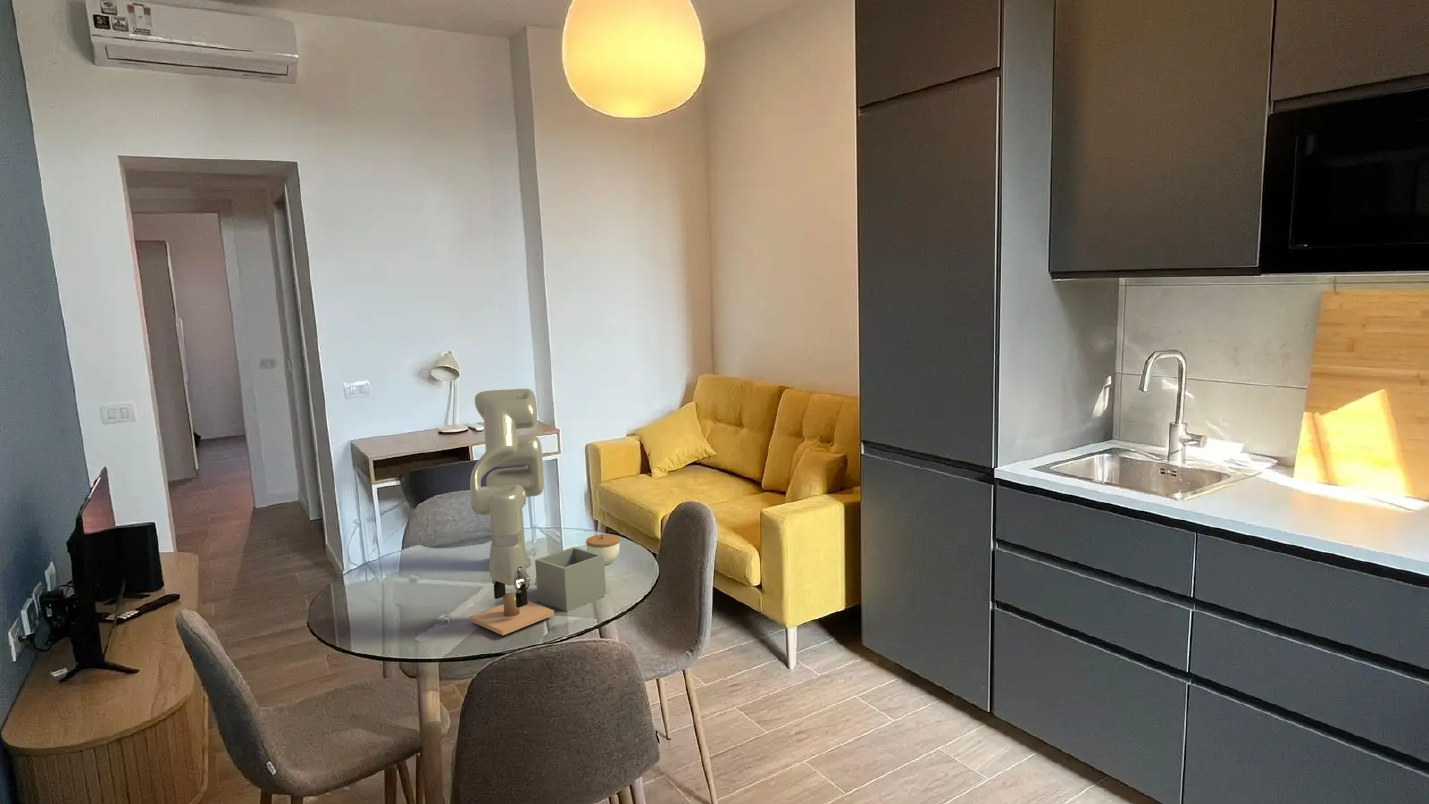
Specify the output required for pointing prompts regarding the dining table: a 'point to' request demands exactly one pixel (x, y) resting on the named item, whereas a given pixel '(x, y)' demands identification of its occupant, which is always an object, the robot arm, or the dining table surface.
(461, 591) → the dining table surface
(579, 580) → the storage box
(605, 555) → the lidded jar
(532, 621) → the lid
